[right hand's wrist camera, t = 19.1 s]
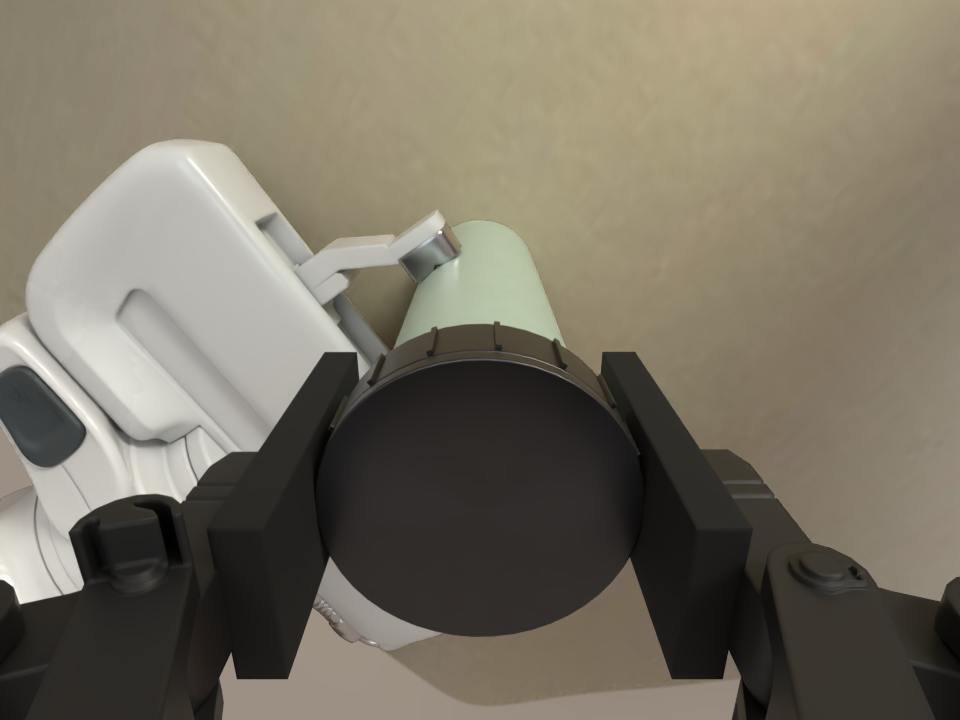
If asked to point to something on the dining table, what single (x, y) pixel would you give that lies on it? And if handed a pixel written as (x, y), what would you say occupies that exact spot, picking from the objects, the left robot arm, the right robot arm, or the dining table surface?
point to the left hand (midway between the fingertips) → (500, 303)
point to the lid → (480, 482)
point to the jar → (482, 287)
